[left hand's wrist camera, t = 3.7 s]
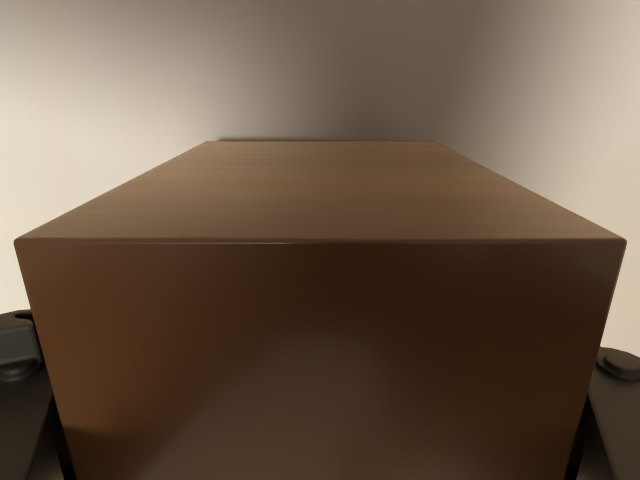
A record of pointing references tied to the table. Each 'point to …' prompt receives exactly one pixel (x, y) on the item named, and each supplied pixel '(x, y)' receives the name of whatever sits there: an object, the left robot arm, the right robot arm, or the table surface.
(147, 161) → the table surface
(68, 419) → the box
